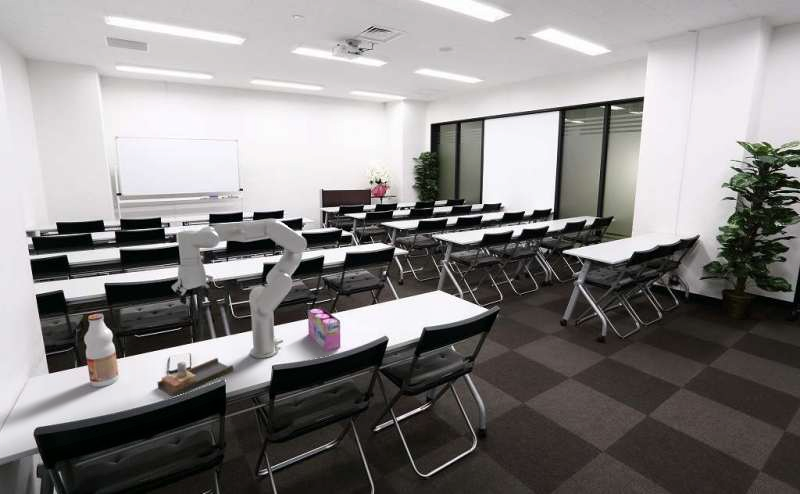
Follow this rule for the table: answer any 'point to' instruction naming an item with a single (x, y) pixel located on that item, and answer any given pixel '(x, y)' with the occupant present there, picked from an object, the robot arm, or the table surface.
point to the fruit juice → (100, 353)
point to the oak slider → (183, 375)
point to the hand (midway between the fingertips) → (195, 300)
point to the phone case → (177, 359)
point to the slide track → (203, 376)
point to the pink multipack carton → (324, 328)
